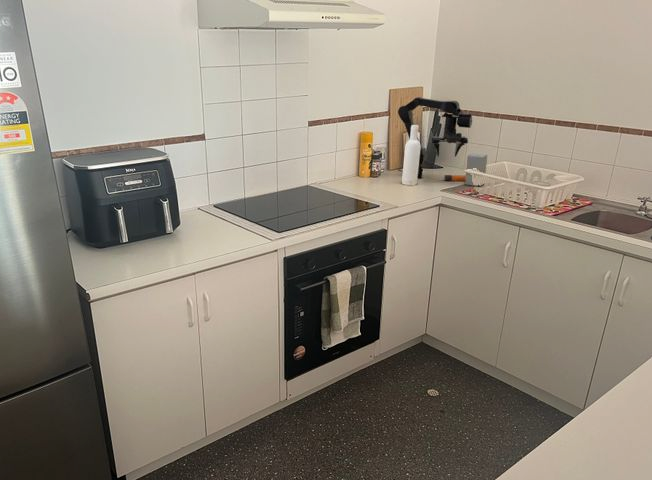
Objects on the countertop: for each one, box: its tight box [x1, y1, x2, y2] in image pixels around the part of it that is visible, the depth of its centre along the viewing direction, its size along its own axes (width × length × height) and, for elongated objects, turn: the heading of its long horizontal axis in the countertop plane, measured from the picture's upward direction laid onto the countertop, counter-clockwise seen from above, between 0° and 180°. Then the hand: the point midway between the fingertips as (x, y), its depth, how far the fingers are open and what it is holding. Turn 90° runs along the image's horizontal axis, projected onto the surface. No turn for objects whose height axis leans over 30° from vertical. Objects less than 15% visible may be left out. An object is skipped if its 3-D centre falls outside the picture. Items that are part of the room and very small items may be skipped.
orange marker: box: [443, 174, 466, 182], centre depth 297 cm, size 14×3×3 cm, turn 90°
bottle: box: [401, 124, 422, 186], centre depth 285 cm, size 8×8×30 cm
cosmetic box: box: [464, 153, 488, 187], centre depth 286 cm, size 8×7×16 cm
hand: (446, 156), depth 292 cm, fingers open, 9 cm apart
